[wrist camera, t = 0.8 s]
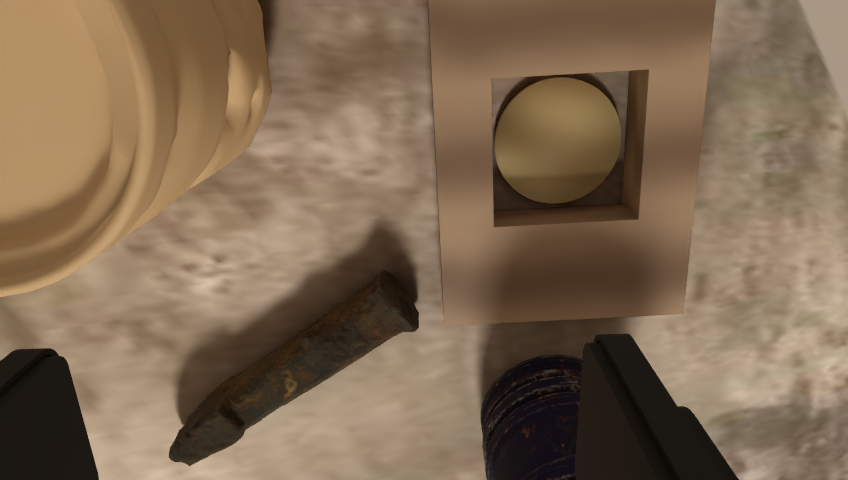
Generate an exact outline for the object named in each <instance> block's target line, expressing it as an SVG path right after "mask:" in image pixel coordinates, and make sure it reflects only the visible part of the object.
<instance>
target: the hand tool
mask: <svg viewBox="0 0 848 480" xmlns="http://www.w3.org/2000/svg"><path fill="white" fill-rule="evenodd" d="M418 318H419V312H418V311H417V309H416V307H415V305H414V303H413V301H412V300H411V299H410V297H409V296H408V294H407V293H406V291H405V290H404V288H403V287H402V285H401V284H400V283H399V282H398V281H397V280H396V279H395V278H394V277H393V276H392V275H391V274H390V273H388V272H386V271H382V272H381V273H380V275H379V276H377V277H376V279H375V281H374V283H373V284H371V285H367V286H365V287H363V288H361V289H359V292H358V294H357V296H356V297H354V298H352V299H350V300H349V301H347V302H346V303H344V304H342V305H341V306H339V307H337V308H335V309H333V310H332V311H331V312H330V313H328V314H326V315H324V316H323V317H322V318H320V319H319V320H318V321H317V323H316V324H315V325H313V326H311V327H310V328H308V329H307V330H305V331H301V332H300V333H299V335H297V336H296V337H294V338H293V339H291V340H290V341H289V342H287V343H286V344H284V345H283V346H281V347H280V348H279V349H277V350H276V351H274V352H273V353H271V354H270V355H268V356H267V357H265V358H264V359H262V360H261V361H259V362H258V363H256V364H255V365H253V366H252V367H251V368H249V369H247V370H246V371H244V372H243V373H241V374H240V375H239V376H237V377H230V378H229V379H228V380H226V381H225V382H224V383H222V384H221V385H220V386H219V387H218V388H217V389H215V390H214V391H213V392H212V393H211V394H210V395H208V396H207V398H206V399H205V400H204V401H203V403H201V404H200V406H199V407H198V408H197V409H196V410H195V412H194V413H192V414H191V415H190V416H189V417H188V419H187V422H186V423H185V424H184V426H183V427H182V429H180V430H179V432H178V435H177V437H176V439H175V441H174V442H173V444H172V446H171V447H170V451H169V458H170V459H171V460H173V461H174V462H183V463H186V464H188V465H189V466H191V465H192V464H194V463H196V462H198V461H200V460H202V459H204V458H206V457H208V456H209V455H212V454H214V453H216V452H218V451H221V450H223V449H225V448H227V447H229V446H231V445H233V444H234V443H236V442H237V441H238V440H239V439H240V438H241V437H242V436H243V434H244V432H245V430H246V429H248V428H249V427H251V426H252V425H254V424H256V423H258V422H259V421H261V420H262V419H263V418H264V417H266V416H267V415H269V414H270V413H272V412H273V411H275V410H276V409H278V408H279V407H281V406H283V405H286V404H287V403H289V402H290V401H292V400H293V399H295V398H297V397H298V396H300V395H302V394H303V393H305V392H307V391H309V390H310V389H312V388H314V387H315V386H317V385H318V384H320V383H321V382H323V381H325V380H326V379H328V378H330V377H331V376H333V375H334V374H336V373H337V372H339V371H341V370H342V369H344V368H345V367H347V366H348V365H350V364H352V363H353V362H355V361H357V360H358V359H360V358H361V357H363V356H364V355H366V354H367V353H369V352H370V351H372V350H373V349H374V348H376V347H378V346H380V345H381V344H383V343H384V342H385V341H387V340H389V339H390V338H392V337H394V336H396V335H398V334H400V333H402V332H414V331H416V330H417V329H418V328H419V320H418Z"/></svg>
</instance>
